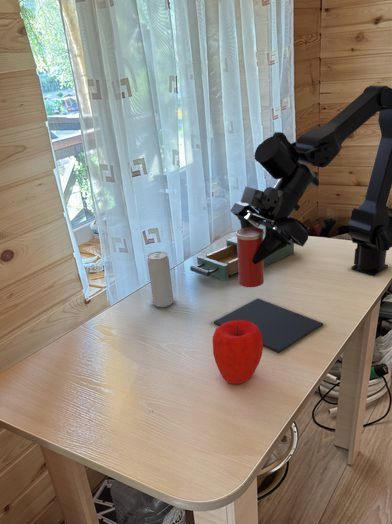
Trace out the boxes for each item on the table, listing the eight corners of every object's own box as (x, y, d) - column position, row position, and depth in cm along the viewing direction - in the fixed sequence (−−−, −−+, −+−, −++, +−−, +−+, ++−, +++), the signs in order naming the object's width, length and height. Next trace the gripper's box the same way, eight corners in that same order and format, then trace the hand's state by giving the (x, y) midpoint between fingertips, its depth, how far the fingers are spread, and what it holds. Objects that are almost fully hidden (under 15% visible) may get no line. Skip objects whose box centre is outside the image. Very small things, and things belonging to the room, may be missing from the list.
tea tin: (264, 276, 110) (263, 226, 104) (264, 287, 105) (263, 235, 99) (238, 277, 110) (236, 227, 105) (237, 288, 106) (235, 237, 100)
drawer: (212, 286, 124) (211, 272, 122) (185, 276, 130) (184, 262, 128) (261, 263, 133) (261, 249, 131) (234, 254, 140) (233, 241, 138)
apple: (262, 394, 88) (261, 340, 82) (211, 392, 90) (207, 339, 84) (264, 365, 95) (264, 314, 90) (218, 364, 97) (214, 313, 91)
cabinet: (257, 269, 132) (257, 249, 129) (227, 259, 139) (226, 240, 136) (293, 252, 140) (294, 232, 137) (263, 243, 147) (262, 224, 144)
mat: (323, 325, 106) (323, 323, 106) (278, 353, 98) (278, 351, 98) (257, 300, 118) (257, 298, 117) (213, 323, 110) (213, 321, 110)
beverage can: (177, 300, 121) (171, 252, 115) (167, 309, 117) (161, 260, 111) (159, 297, 123) (153, 250, 117) (149, 306, 119) (142, 258, 113)
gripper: (235, 161, 104) (194, 227, 106) (298, 177, 91) (250, 252, 92) (266, 192, 112) (227, 253, 113) (328, 210, 98) (283, 280, 100)
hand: (245, 258), depth 104 cm, fingers closed on tea tin, 5 cm apart
